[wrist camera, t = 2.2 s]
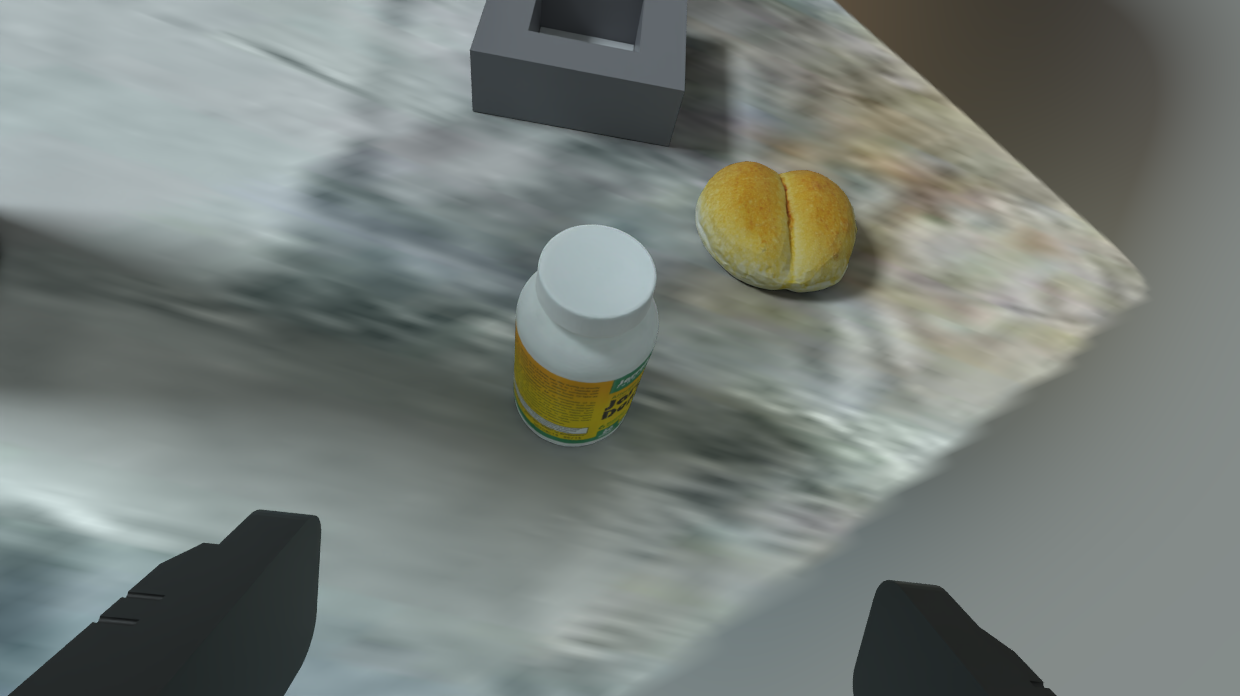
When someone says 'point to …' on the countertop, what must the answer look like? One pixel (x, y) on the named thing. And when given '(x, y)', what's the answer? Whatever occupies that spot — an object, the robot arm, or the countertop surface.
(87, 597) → the countertop surface
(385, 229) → the countertop surface
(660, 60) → the socket block
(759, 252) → the bread roll
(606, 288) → the supplement bottle
